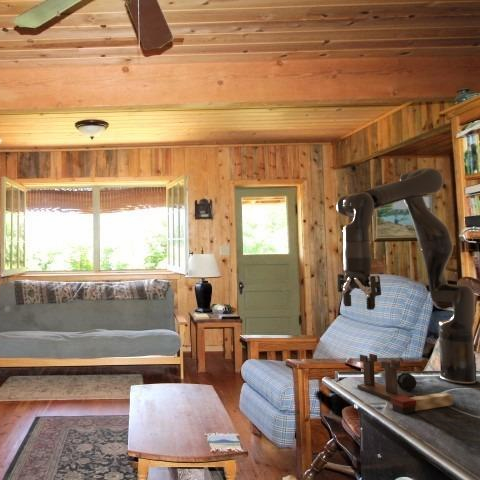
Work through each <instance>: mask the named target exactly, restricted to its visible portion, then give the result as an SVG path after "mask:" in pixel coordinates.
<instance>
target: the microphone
mask: <svg viewBox="0 0 480 480" xmlns="http://www.w3.org/2000/svg"><path fill="white" fill-rule="evenodd" d="M380 374H381V375H382V376H383V377H384V378H385V371H382V372H380ZM417 384H418V383H417V380H416V377H415V376H414V375H412V374H411V373H410V372H400V373H397V388H400V389H401V390H402V391H404V392H412V390H414V389H416V388H417Z"/></svg>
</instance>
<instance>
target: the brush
mask: <svg viewBox="0 0 480 480" xmlns="http://www.w3.org/2000/svg"><path fill="white" fill-rule="evenodd" d="M390 403H391V404H392V411H395V412H397V413H400V414H402V415H406V414H411V413H416V412H417V411H424V410H430V409H431V410H432V409H437V408H443V407H448V406H453V405H454V397H453V394H451V393H448V392H446V391H444V392H439V393H437V392H436V393H432V394H425V395H417V396H414V397H410V398H409V397H406V396H400V397H393V398H391V401H390Z"/></svg>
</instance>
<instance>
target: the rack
mask: <svg viewBox="0 0 480 480" xmlns="http://www.w3.org/2000/svg"><path fill="white" fill-rule="evenodd" d="M390 360H391V361H387V360H381V361H380V362H381V368H383V369H384V372H385V377H384V378H385V384H382V383H379V382H376V379H375V363H377V362H378V355H377V354H374V353H368V355H365V354H359V362H362V363H363V366H362V367H363V383H362V384H357V386H356V387H357V388H356V389H358V390H360V391H363V392H366V393H367V394H371V395H374V396H377V397H380V398H382V399H385V400H387V401H390V402H391V398H393V397H400V396H406V397H409V398H410V397H415V395H414V394H411V393H408V392H407V391H404V390H400V389H398V384H397V374H398V369H401V361H400V360H397V359H390Z"/></svg>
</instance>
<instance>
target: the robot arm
mask: <svg viewBox="0 0 480 480" xmlns="http://www.w3.org/2000/svg"><path fill="white" fill-rule="evenodd" d="M443 186H444V176H443V174H442V172H441V171H440V170H439V169H437V168H433V167H425V168H420V169H415V170H410V171H406V172H403V173H402V174H401V175H400V177H399V180H397V181H396V180H395V181H391V182H387V183H382V184H379V185H376V186H373V187H370V188H368V189H365V190H362V191H356V192H353V193H352V192H351V193H348V194H344V195H341V197H340V198H339V199H338V200H337V202H336V205H335V206H336V210H337V212H338V214H340V215H341V216H343V217H353V220H352V221H351V222H349V223H347V224H344V226H343V230H342V232H343V247H342V249H343V250H342V257H343V258H342V259H343V271H344V272H345V273H338V274H337V280H336V281H337V285H336V287H337V288H336V289H337V292H338V293H341V294H342V299H343V300H342V301H343V306H344V307H352V294H351V293H352V292H353V290H355V289H356V290H360V291H362V292H363V293H364V294H365V296H366V297H365V298H366V299H365V300H366V301H365V302H366V309H367V310H368V311H373V310H375V308H376V297H378V296H379V297H380V296H381V295H382V288H381V287H382V286H381V277H380V276H379V275H371V274H370V272H371V271H372V255H371V254H372V252H371V245H370V244H371V243H370V226H371V222H372V218H373V214H374V211H375V210H377V209H381V208H385V207H386V206H389V205H393V204H395V203H398V202H401V201H404V203H405V205H406V208H407V210H408V212H409V216H410V218H411V221H412V225H413V228H414V231H415V236H416V239H417V243H418V247H419V250H420V253H421V255H422V259H423V263H424V266H425V267H424V268H425V271H426V276H427V282H428V289H429V294H430V299H431V301H432V303H433V305H434V306H435V308H437V309H440V310H443V311H452V312H453V313H452V317H450V318H448V319H441V320H440V321H439V322H438V342H439V344H438V345H439V370H440V371H439V372H440V375H439V379H441V380H442V381H444V382H449V383H453V384H459V385H474V384H476V382H477V362H476V359H477V358H476V353H475V351H474V349H475V348H474V325H475V321H476V320H475V317H476V315H475V314H476V313H475V311H476V296H475V293H474V290H473V289H472V287H470V286H469V285H466V284H455V283H454V284H453V283H448V280H447V277H446V267H447V265H448V263H449V261H450V259H451V256H452V255H453V251H454V242H453V240H452V236H451V233H450V230H449V228H448V227H447V225H446V224H445V223H444V222H443V221H442V220H441V219H440V218H439V217H438V216H437V215H435V214H434V213H433V212H432V211H431V210H430V209H429V208H428V206H427V204H426V202H425V199H424V197H425V196H432V195H435V194H437V193H438V192H440V191H441V190H442V189H443Z"/></svg>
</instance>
